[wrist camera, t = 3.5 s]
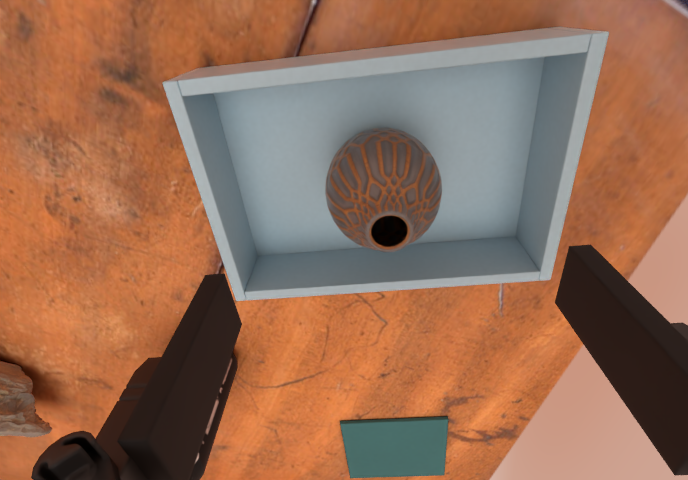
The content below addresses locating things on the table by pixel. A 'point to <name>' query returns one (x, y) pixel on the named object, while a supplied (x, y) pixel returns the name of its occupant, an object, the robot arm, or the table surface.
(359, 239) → the vase
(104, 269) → the table surface
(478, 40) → the tray
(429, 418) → the mat
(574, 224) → the table surface
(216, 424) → the beverage can
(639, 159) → the table surface
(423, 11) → the table surface
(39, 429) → the grey rock
